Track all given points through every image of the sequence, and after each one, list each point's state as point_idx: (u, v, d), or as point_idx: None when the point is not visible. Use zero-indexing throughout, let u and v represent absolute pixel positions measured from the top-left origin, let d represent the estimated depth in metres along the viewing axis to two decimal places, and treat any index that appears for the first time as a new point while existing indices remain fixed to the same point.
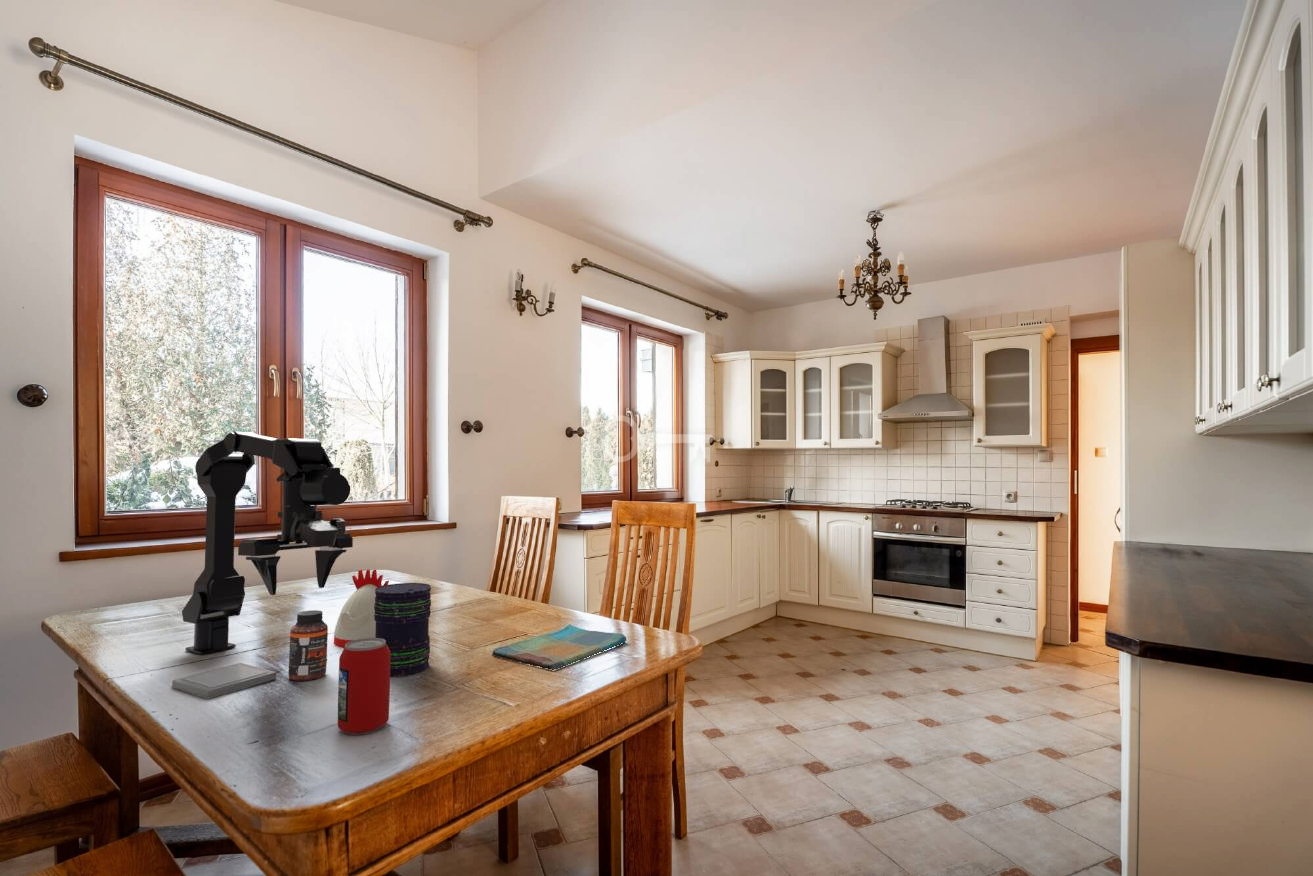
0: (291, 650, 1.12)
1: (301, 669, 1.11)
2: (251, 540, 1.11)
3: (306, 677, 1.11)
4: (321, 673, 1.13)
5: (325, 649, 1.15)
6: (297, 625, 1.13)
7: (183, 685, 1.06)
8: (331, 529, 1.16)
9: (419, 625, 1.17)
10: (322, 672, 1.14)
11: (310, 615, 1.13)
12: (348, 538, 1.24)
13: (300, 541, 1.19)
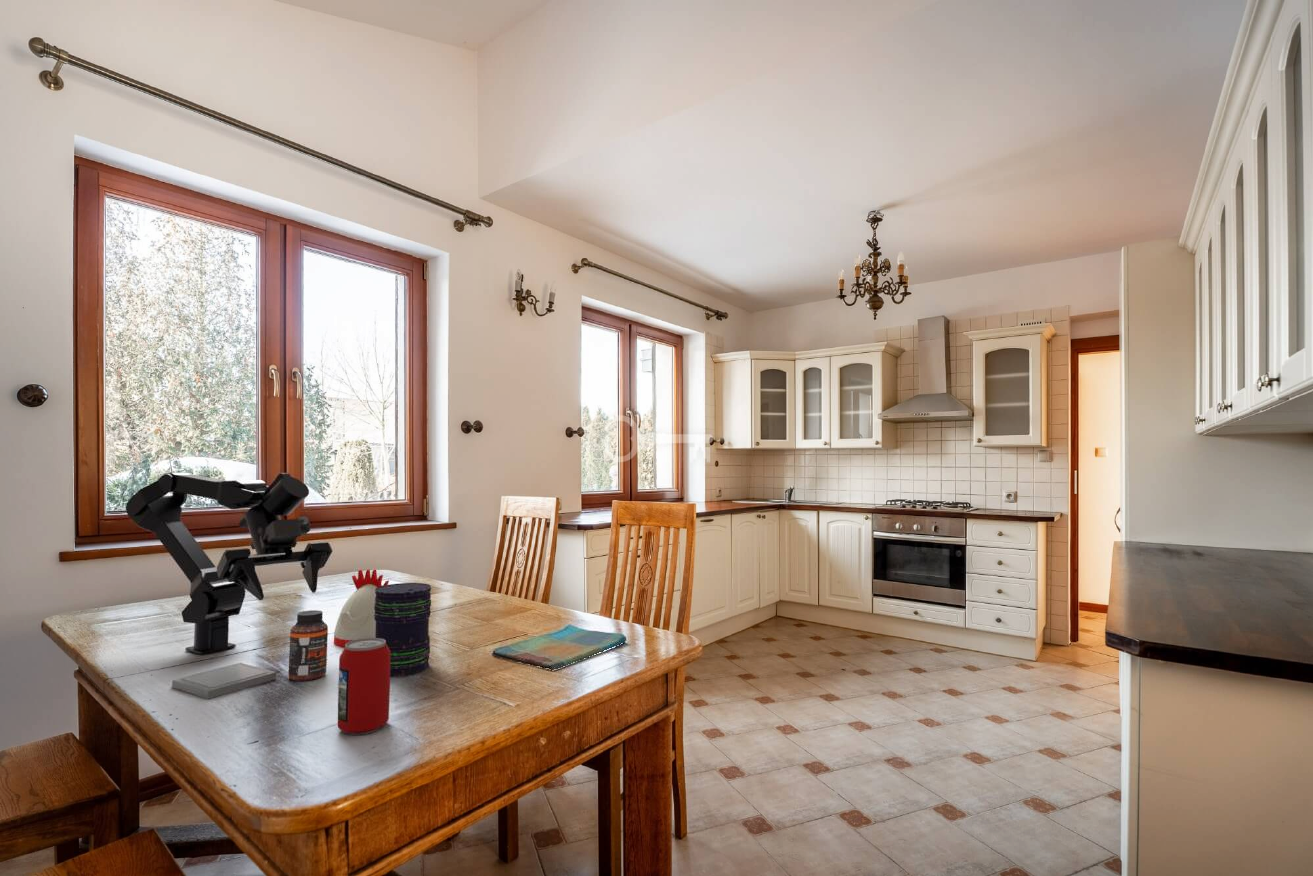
0: (291, 650, 1.12)
1: (301, 669, 1.11)
2: None
3: (306, 677, 1.11)
4: (321, 673, 1.13)
5: (325, 649, 1.15)
6: (297, 625, 1.13)
7: (183, 685, 1.06)
8: None
9: (419, 625, 1.17)
10: (322, 672, 1.14)
11: (310, 615, 1.13)
12: (324, 543, 1.29)
13: None
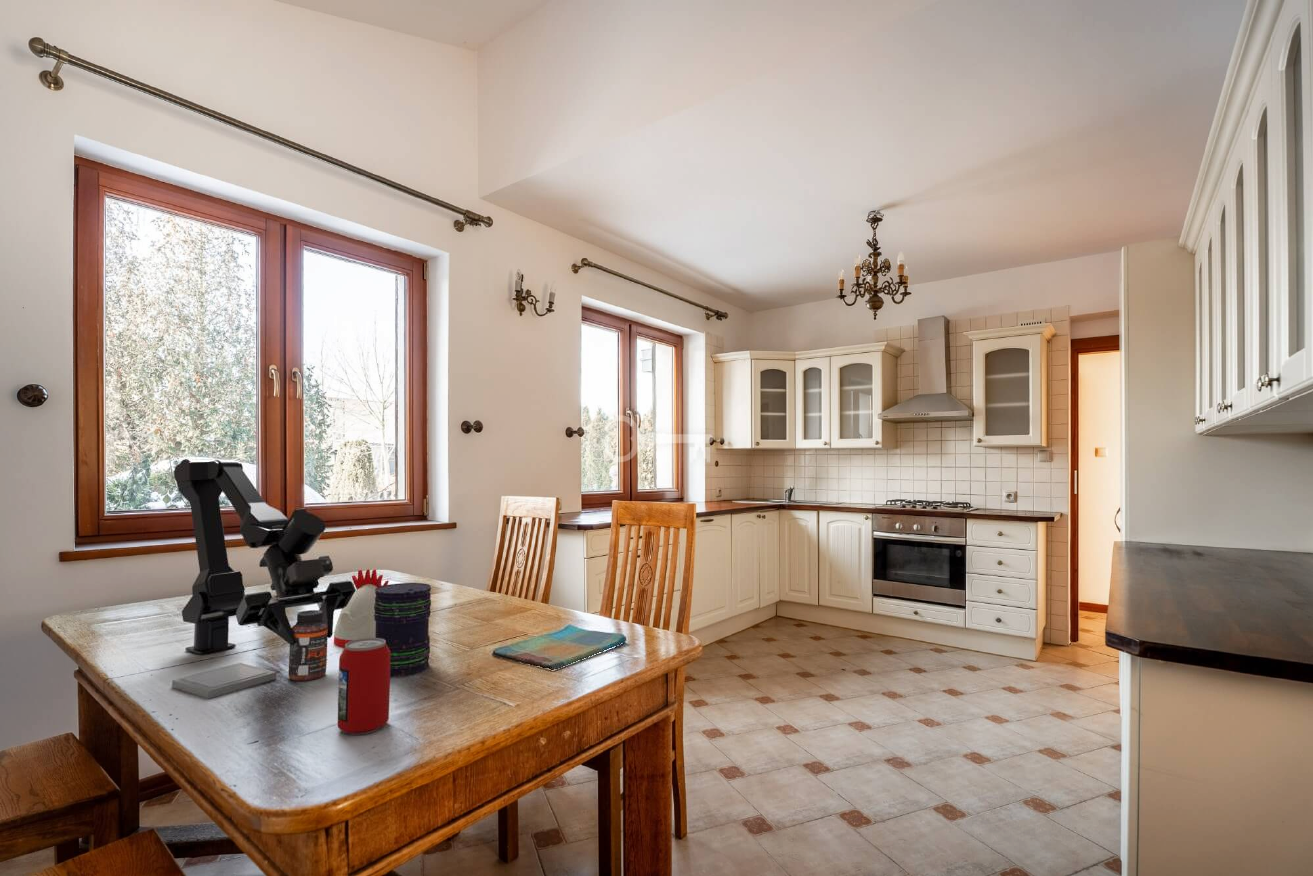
0: (291, 650, 1.12)
1: (301, 669, 1.11)
2: None
3: (306, 677, 1.11)
4: (321, 673, 1.13)
5: (325, 649, 1.15)
6: (297, 625, 1.13)
7: (183, 685, 1.06)
8: None
9: (419, 625, 1.17)
10: (322, 672, 1.14)
11: (310, 615, 1.13)
12: (346, 582, 1.23)
13: None
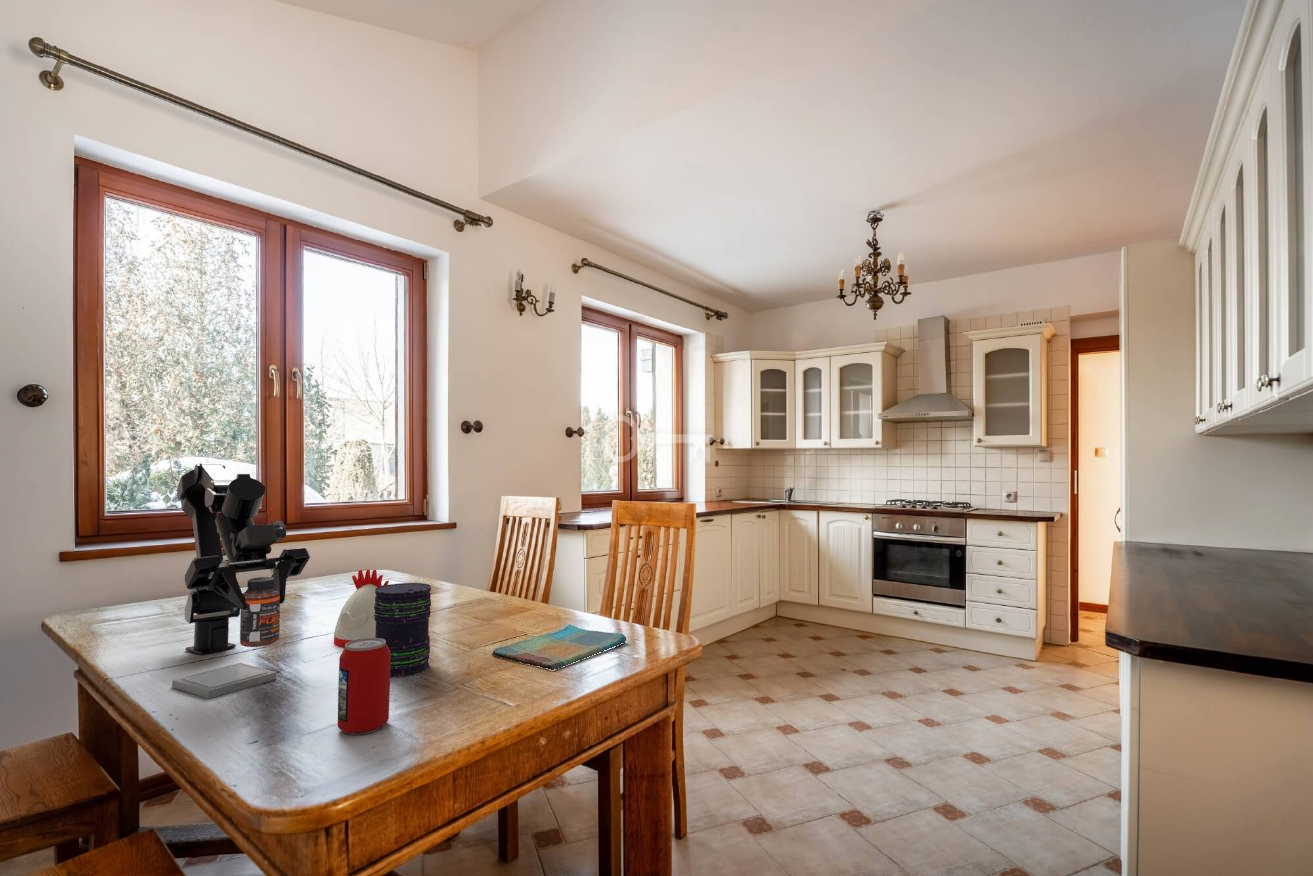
0: (241, 617, 1.11)
1: (252, 636, 1.10)
2: None
3: (258, 643, 1.11)
4: (273, 639, 1.13)
5: (277, 615, 1.14)
6: (248, 592, 1.12)
7: (183, 685, 1.06)
8: None
9: (419, 625, 1.17)
10: (275, 639, 1.13)
11: (261, 581, 1.12)
12: (300, 548, 1.22)
13: None
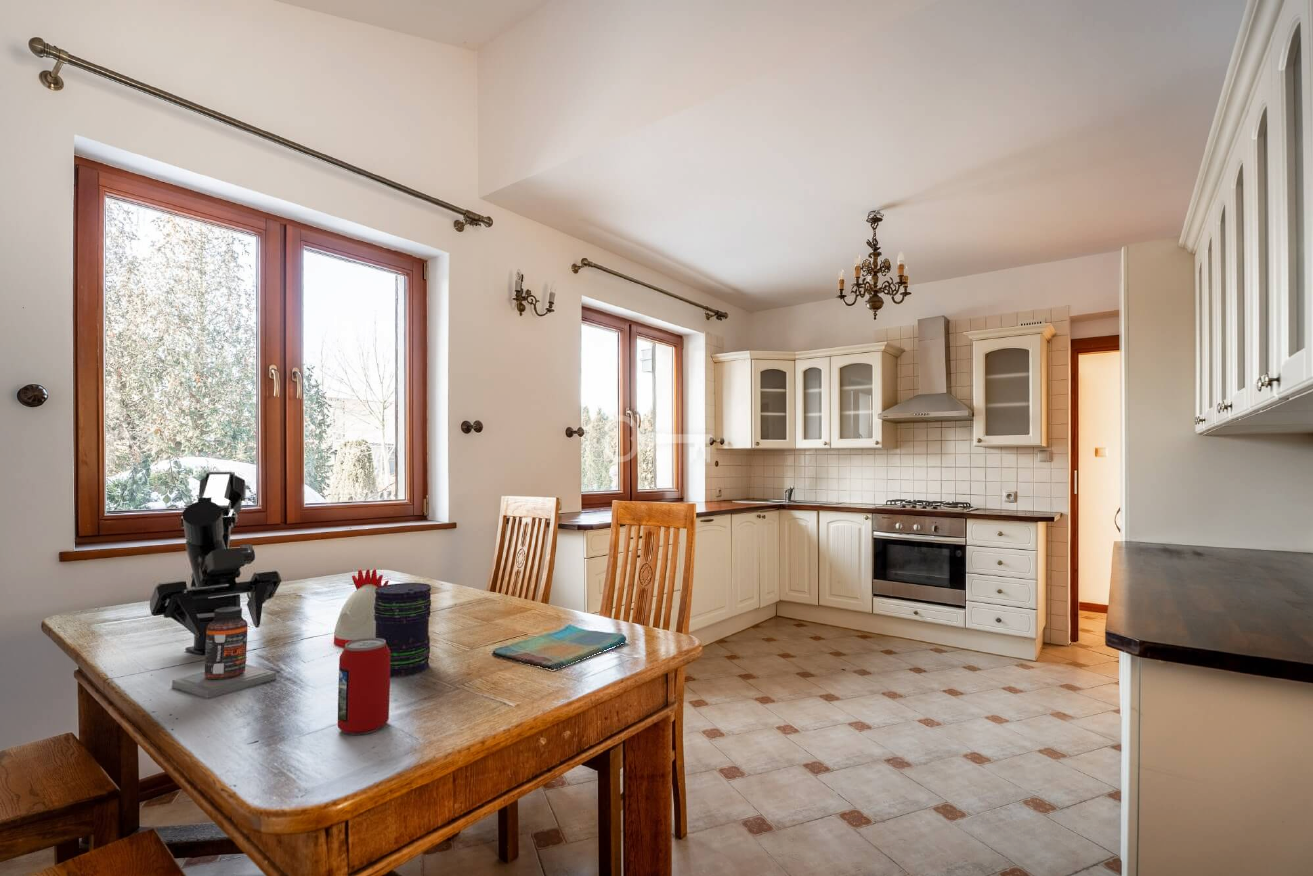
0: (206, 647, 1.09)
1: (216, 668, 1.08)
2: None
3: (221, 675, 1.08)
4: (238, 671, 1.10)
5: (244, 647, 1.11)
6: (214, 622, 1.09)
7: (183, 685, 1.06)
8: None
9: (419, 625, 1.17)
10: (240, 671, 1.10)
11: (227, 611, 1.10)
12: (272, 572, 1.19)
13: None
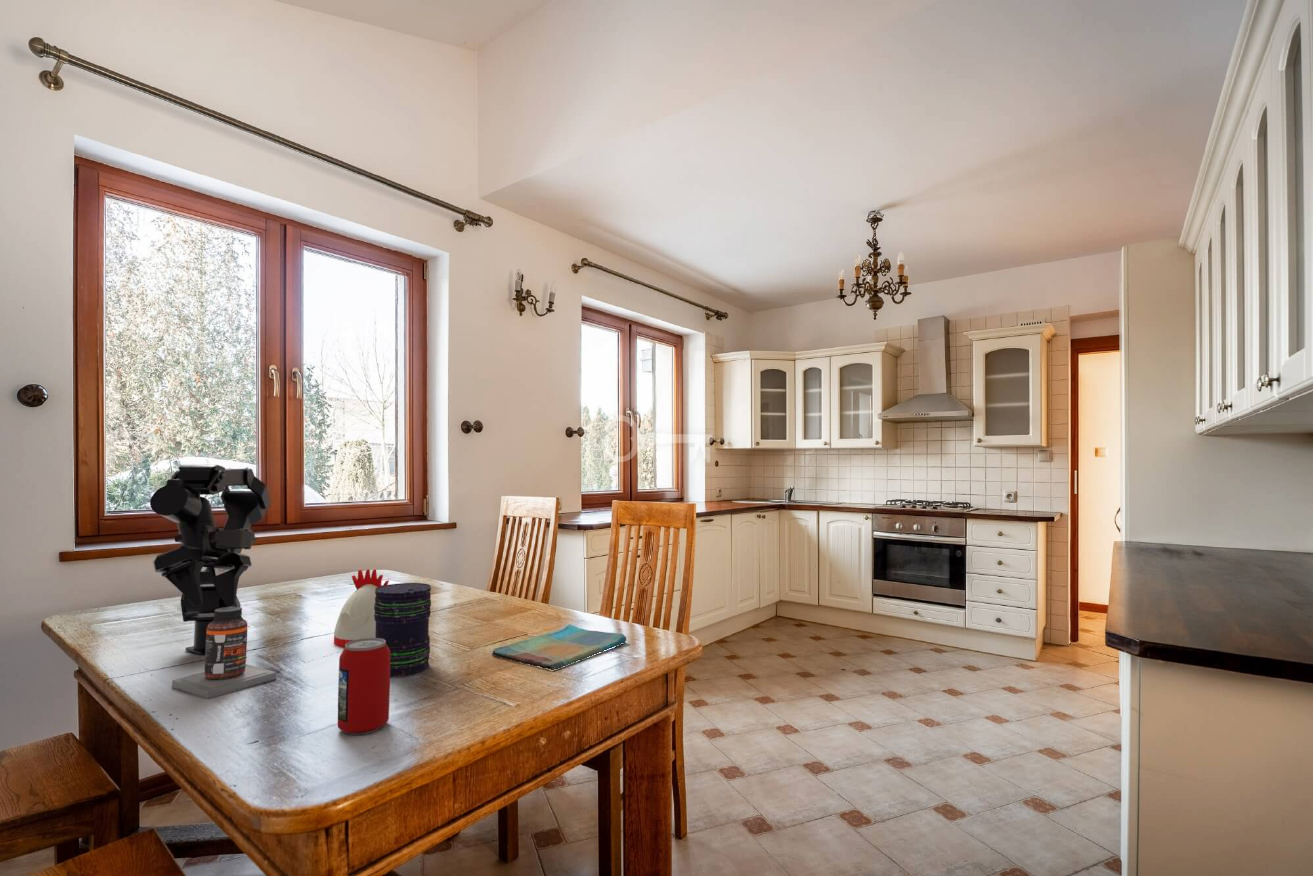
0: (206, 648, 1.09)
1: (216, 668, 1.08)
2: (172, 549, 1.12)
3: (221, 675, 1.08)
4: (238, 671, 1.10)
5: (244, 647, 1.11)
6: (213, 622, 1.09)
7: (183, 685, 1.06)
8: (248, 532, 1.22)
9: (419, 625, 1.17)
10: (240, 671, 1.10)
11: (227, 611, 1.10)
12: (246, 556, 1.28)
13: None
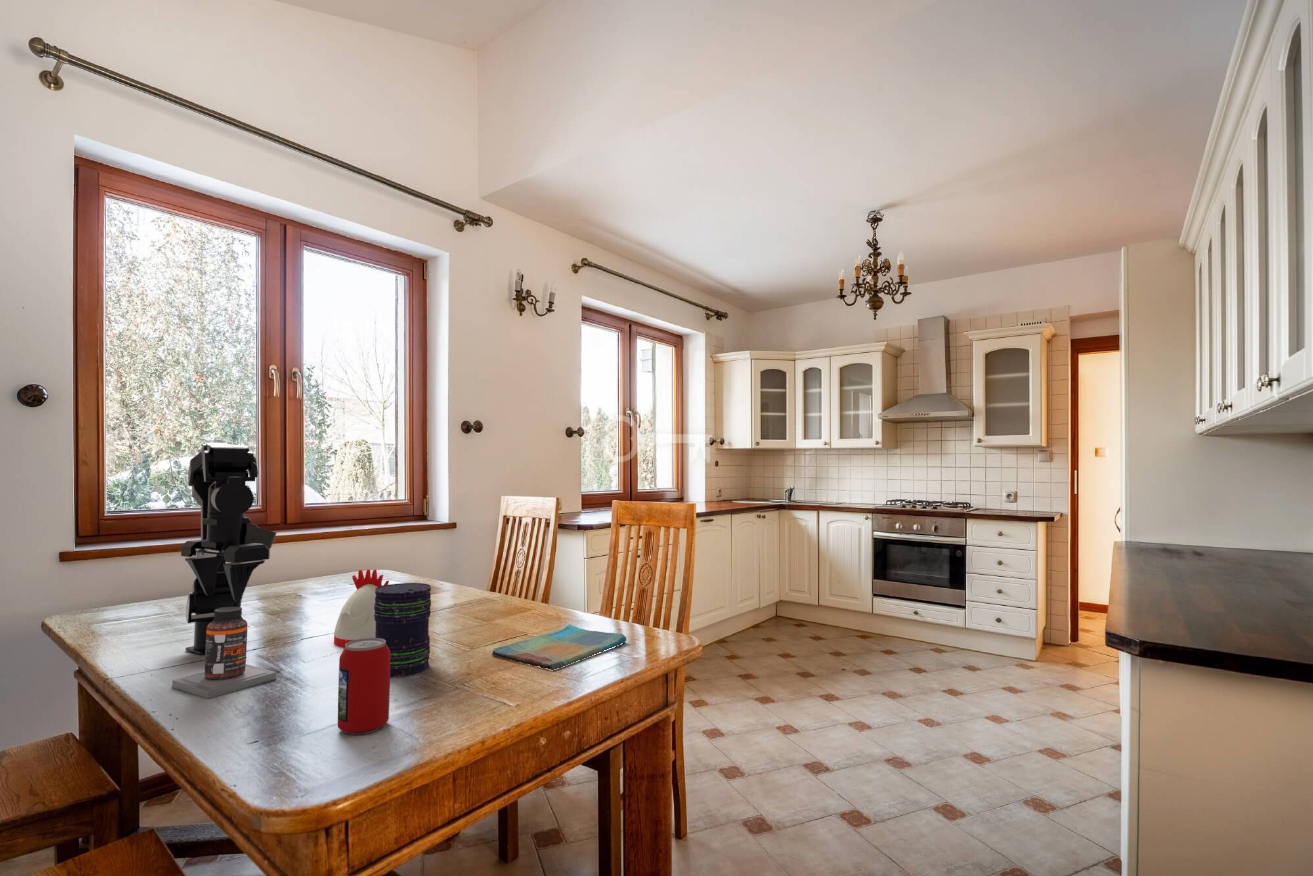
0: (206, 648, 1.09)
1: (216, 668, 1.08)
2: (256, 545, 1.16)
3: (221, 675, 1.08)
4: (238, 671, 1.10)
5: (244, 647, 1.11)
6: (213, 622, 1.09)
7: (183, 685, 1.06)
8: None
9: (419, 625, 1.17)
10: (240, 671, 1.10)
11: (227, 611, 1.10)
12: None
13: None
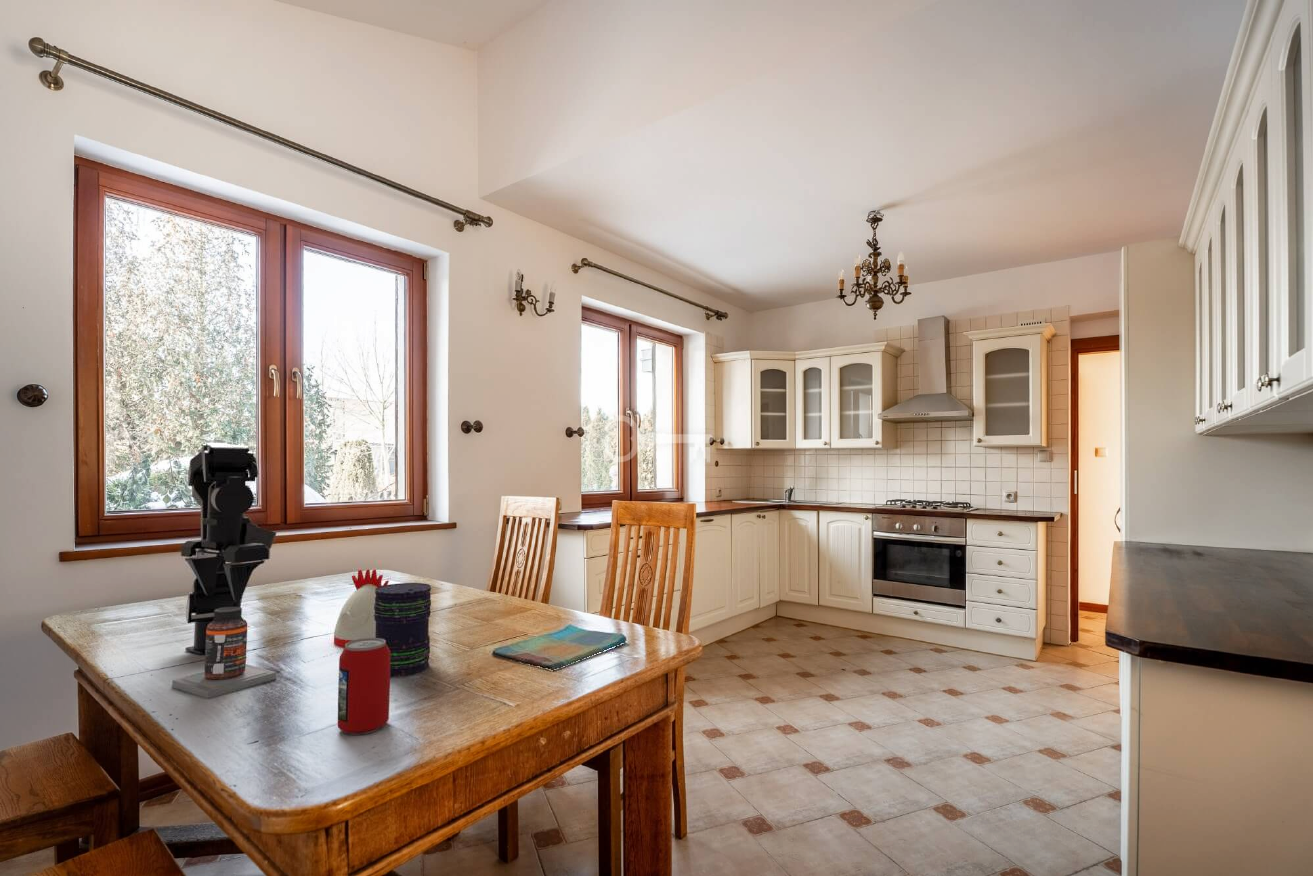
0: (206, 648, 1.08)
1: (216, 668, 1.08)
2: (256, 545, 1.16)
3: (221, 675, 1.08)
4: (238, 671, 1.10)
5: (243, 647, 1.11)
6: (213, 622, 1.09)
7: (183, 685, 1.06)
8: None
9: (419, 625, 1.17)
10: (240, 671, 1.10)
11: (227, 611, 1.10)
12: None
13: None
